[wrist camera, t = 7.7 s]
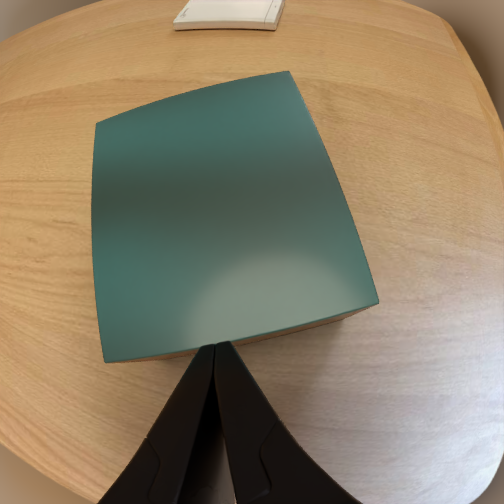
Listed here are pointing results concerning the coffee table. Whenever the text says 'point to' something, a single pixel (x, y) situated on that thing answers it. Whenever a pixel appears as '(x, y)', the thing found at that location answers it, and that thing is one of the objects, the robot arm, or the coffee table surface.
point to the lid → (219, 222)
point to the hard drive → (230, 14)
